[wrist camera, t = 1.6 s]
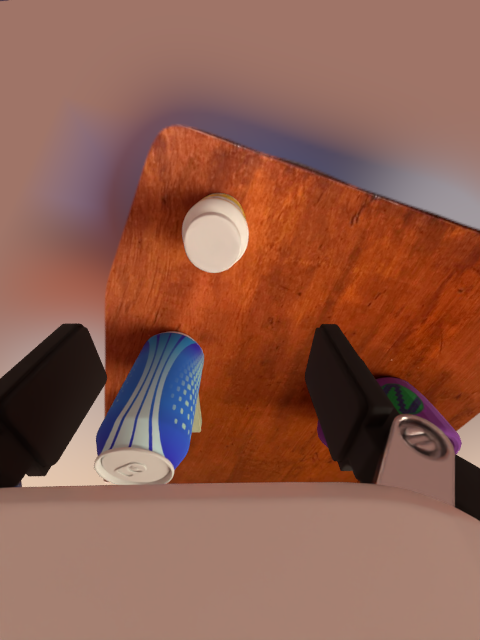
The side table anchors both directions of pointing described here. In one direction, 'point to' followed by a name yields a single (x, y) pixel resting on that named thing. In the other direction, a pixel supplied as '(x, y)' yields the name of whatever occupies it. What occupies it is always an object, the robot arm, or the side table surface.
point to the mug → (411, 407)
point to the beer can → (152, 413)
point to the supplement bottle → (215, 233)
